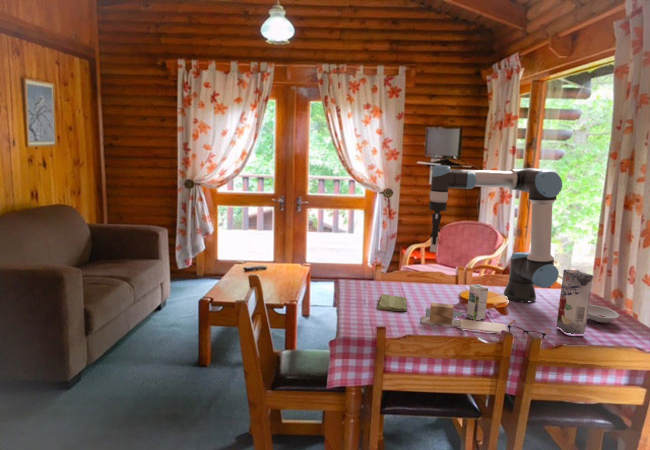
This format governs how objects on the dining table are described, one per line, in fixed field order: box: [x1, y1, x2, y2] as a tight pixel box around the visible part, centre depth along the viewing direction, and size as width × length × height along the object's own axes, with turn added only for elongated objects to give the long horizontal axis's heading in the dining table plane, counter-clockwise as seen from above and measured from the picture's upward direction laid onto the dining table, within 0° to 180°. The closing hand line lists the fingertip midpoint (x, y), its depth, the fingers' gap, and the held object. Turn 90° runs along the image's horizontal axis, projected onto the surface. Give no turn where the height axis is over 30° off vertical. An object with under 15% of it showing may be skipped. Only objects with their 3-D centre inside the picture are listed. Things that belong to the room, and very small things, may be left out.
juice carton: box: [556, 267, 594, 335], centre depth 208 cm, size 9×10×27 cm
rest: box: [460, 318, 508, 333], centre depth 210 cm, size 18×10×1 cm, turn 78°
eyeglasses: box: [507, 319, 552, 339], centre depth 208 cm, size 14×14×4 cm
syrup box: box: [466, 283, 489, 321], centre depth 221 cm, size 6×6×14 cm
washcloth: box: [377, 293, 408, 313], centre depth 234 cm, size 13×18×3 cm
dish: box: [587, 304, 620, 323], centre depth 225 cm, size 18×14×5 cm
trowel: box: [420, 302, 461, 328], centre depth 214 cm, size 16×8×8 cm, turn 78°
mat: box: [425, 308, 464, 319], centre depth 225 cm, size 16×11×1 cm
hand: (433, 248), depth 227 cm, fingers open, 13 cm apart
